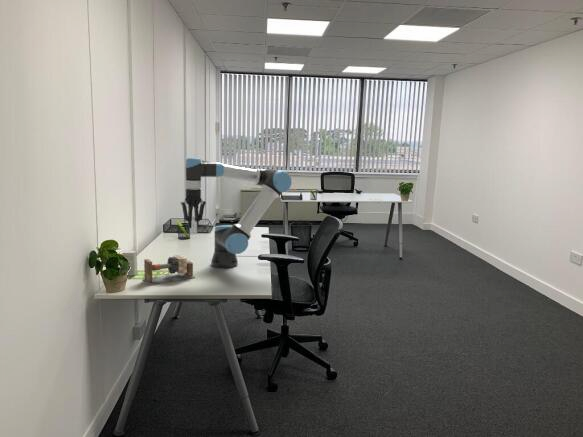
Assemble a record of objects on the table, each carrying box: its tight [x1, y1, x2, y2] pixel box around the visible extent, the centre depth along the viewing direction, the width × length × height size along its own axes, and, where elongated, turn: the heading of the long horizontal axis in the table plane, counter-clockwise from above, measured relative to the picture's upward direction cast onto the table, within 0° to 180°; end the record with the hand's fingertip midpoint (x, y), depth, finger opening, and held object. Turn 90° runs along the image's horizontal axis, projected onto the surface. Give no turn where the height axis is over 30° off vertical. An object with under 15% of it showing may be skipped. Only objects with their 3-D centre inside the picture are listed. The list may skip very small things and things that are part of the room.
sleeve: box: [172, 254, 188, 274], centre depth 223 cm, size 4×8×8 cm, turn 36°
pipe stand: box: [142, 258, 196, 286], centre depth 220 cm, size 24×9×11 cm, turn 125°
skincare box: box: [121, 250, 138, 276], centre depth 225 cm, size 6×4×12 cm
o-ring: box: [166, 256, 177, 275], centre depth 220 cm, size 2×8×8 cm, turn 36°
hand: (193, 233), depth 224 cm, fingers closed
